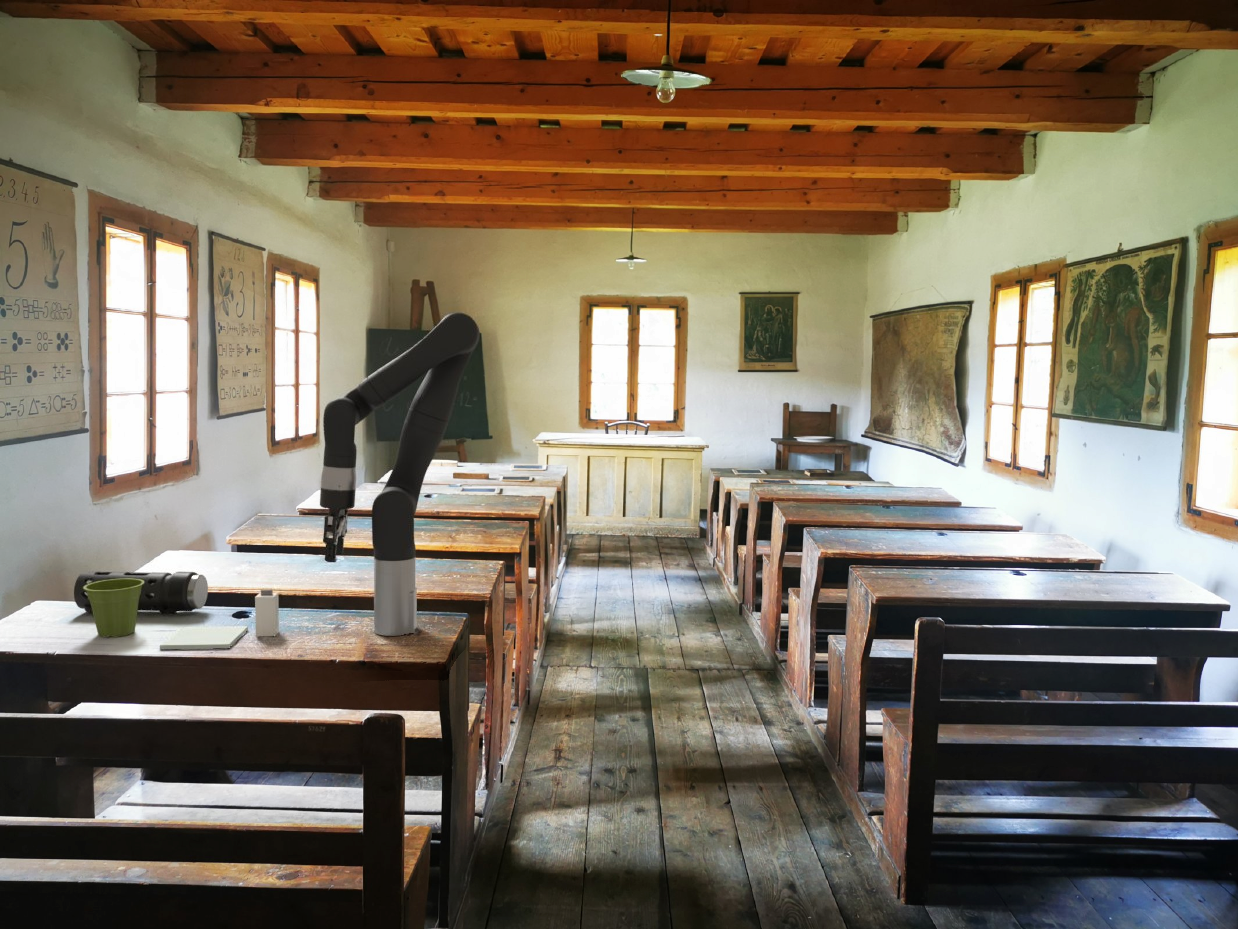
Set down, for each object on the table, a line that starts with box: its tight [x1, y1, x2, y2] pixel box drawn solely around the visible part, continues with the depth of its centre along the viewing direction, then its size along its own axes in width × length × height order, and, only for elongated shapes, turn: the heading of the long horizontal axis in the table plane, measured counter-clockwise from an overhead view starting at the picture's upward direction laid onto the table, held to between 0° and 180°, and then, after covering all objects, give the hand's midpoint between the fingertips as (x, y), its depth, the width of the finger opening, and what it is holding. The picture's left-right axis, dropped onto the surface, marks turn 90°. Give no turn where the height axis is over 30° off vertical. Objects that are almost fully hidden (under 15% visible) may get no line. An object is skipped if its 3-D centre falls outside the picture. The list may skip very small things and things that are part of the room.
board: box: [159, 625, 249, 650], centre depth 198 cm, size 14×14×1 cm
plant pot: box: [83, 578, 144, 638], centre depth 200 cm, size 12×12×11 cm
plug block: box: [254, 589, 280, 638], centre depth 203 cm, size 4×4×10 cm
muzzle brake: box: [73, 570, 209, 615], centre depth 218 cm, size 10×28×10 cm, turn 91°
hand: (334, 557), depth 204 cm, fingers open, 8 cm apart
